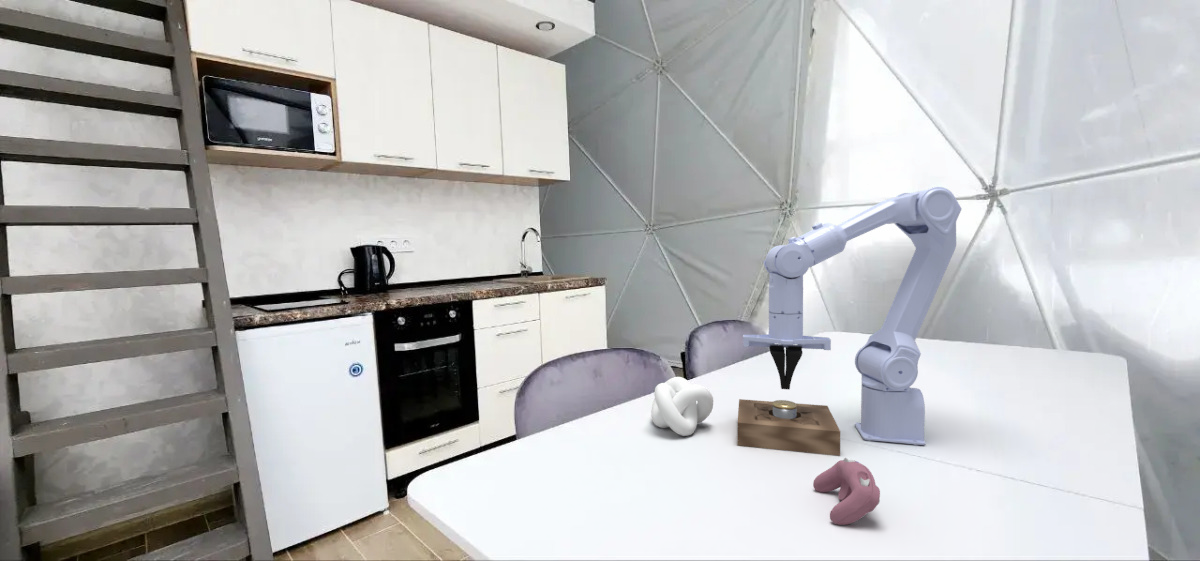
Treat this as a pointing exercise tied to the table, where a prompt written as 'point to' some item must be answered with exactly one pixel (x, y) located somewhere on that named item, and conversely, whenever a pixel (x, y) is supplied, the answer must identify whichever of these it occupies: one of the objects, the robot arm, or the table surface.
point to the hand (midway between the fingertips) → (785, 387)
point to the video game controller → (849, 490)
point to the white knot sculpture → (681, 405)
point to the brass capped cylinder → (784, 409)
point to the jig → (788, 428)
